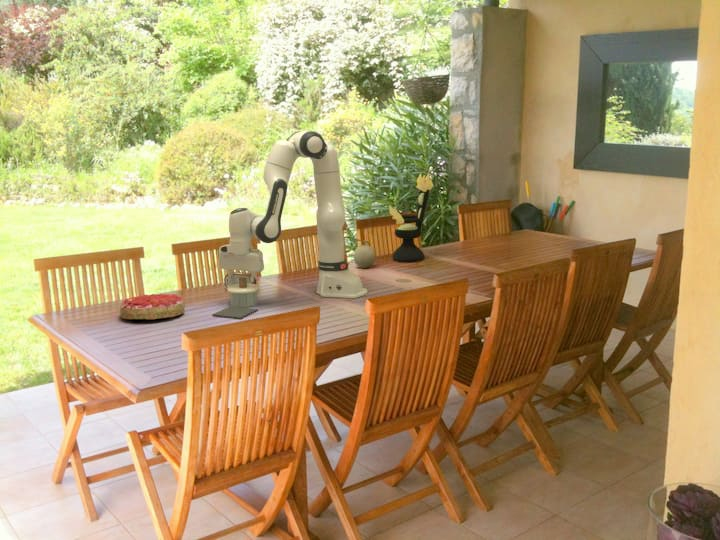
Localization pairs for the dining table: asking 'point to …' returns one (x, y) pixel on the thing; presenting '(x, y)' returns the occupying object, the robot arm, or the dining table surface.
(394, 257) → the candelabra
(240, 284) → the lid
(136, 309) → the cake
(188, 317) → the dining table surface
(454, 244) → the dining table surface
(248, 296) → the bowl
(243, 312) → the mat
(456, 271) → the dining table surface
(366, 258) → the fruit
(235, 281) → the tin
